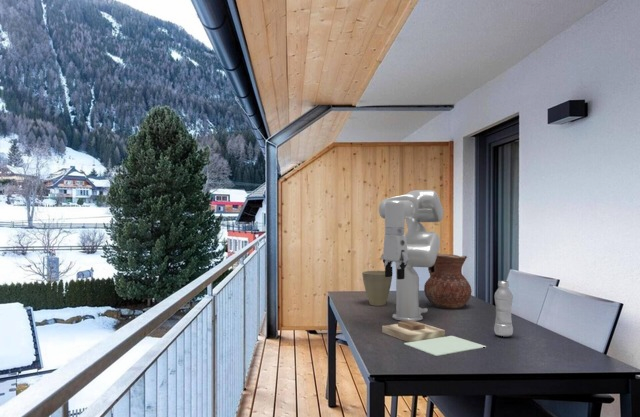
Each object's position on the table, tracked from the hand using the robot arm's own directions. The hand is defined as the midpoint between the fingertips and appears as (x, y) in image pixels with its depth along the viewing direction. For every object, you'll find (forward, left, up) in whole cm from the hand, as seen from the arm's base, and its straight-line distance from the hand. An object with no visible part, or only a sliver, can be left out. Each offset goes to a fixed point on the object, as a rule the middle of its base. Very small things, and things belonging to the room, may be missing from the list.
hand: (394, 277), depth 187 cm
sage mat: (0, +28, -20) cm, 34 cm away
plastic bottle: (-28, +28, -20) cm, 44 cm away
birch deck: (0, +11, -20) cm, 23 cm away
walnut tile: (0, +10, -16) cm, 19 cm away
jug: (-51, -25, -20) cm, 60 cm away
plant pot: (-23, -44, -20) cm, 53 cm away
